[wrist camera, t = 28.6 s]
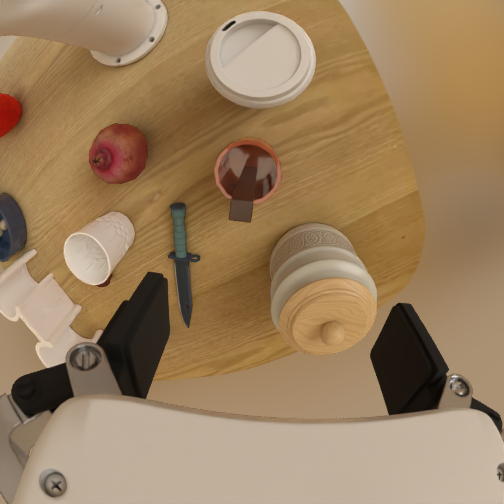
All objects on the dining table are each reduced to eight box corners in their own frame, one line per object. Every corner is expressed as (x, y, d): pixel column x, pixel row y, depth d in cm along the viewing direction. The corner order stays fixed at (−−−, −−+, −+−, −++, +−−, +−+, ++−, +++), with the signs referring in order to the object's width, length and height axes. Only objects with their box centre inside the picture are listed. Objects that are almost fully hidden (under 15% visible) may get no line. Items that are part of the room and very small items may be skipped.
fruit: (138, 187, 39) (105, 208, 30) (100, 156, 36) (61, 170, 27) (168, 143, 36) (139, 152, 27) (127, 111, 33) (90, 113, 25)
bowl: (-12, 192, 39) (-27, 199, 34) (22, 192, 39) (5, 201, 34) (-2, 247, 44) (-15, 257, 40) (32, 254, 45) (18, 266, 40)
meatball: (100, 278, 46) (90, 290, 43) (96, 260, 44) (86, 272, 41) (117, 280, 46) (107, 293, 42) (113, 262, 44) (103, 274, 41)
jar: (253, 272, 44) (247, 357, 28) (301, 203, 39) (326, 266, 23) (318, 307, 47) (338, 391, 31) (368, 248, 42) (415, 321, 26)
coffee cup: (282, 37, 29) (293, -8, 15) (308, 100, 32) (337, 88, 19) (213, 61, 30) (183, 28, 17) (239, 123, 34) (224, 124, 21)
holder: (224, 134, 35) (216, 137, 30) (282, 141, 35) (286, 145, 30) (218, 188, 38) (211, 200, 33) (274, 195, 39) (276, 209, 33)
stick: (243, 166, 36) (230, 198, 22) (257, 167, 36) (253, 201, 22) (242, 179, 37) (228, 220, 23) (255, 180, 37) (250, 223, 23)
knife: (161, 207, 38) (195, 209, 37) (168, 202, 39) (200, 204, 39) (176, 330, 49) (203, 335, 49) (180, 322, 51) (206, 327, 50)
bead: (11, 218, 41) (1, 215, 39) (9, 228, 40) (-1, 225, 38) (8, 223, 42) (-1, 220, 40) (7, 233, 41) (-3, 230, 39)
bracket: (17, 263, 46) (-16, 292, 35) (33, 243, 43) (-4, 273, 33) (85, 346, 55) (63, 383, 44) (107, 336, 53) (84, 377, 42)
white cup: (109, 257, 44) (81, 289, 35) (90, 216, 41) (55, 242, 32) (146, 245, 43) (120, 278, 34) (126, 200, 39) (92, 224, 31)
